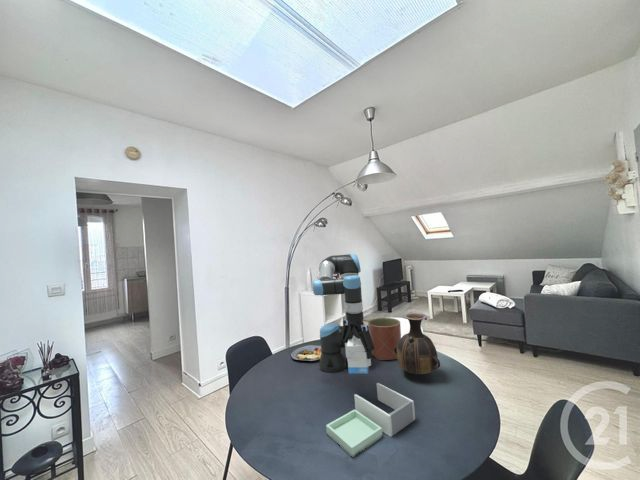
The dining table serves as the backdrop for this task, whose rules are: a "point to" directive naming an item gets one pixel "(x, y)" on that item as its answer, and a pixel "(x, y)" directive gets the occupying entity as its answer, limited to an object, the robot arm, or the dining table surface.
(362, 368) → the ink box
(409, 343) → the vase
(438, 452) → the dining table surface
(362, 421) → the tray
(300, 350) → the food plate
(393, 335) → the planter
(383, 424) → the dock
